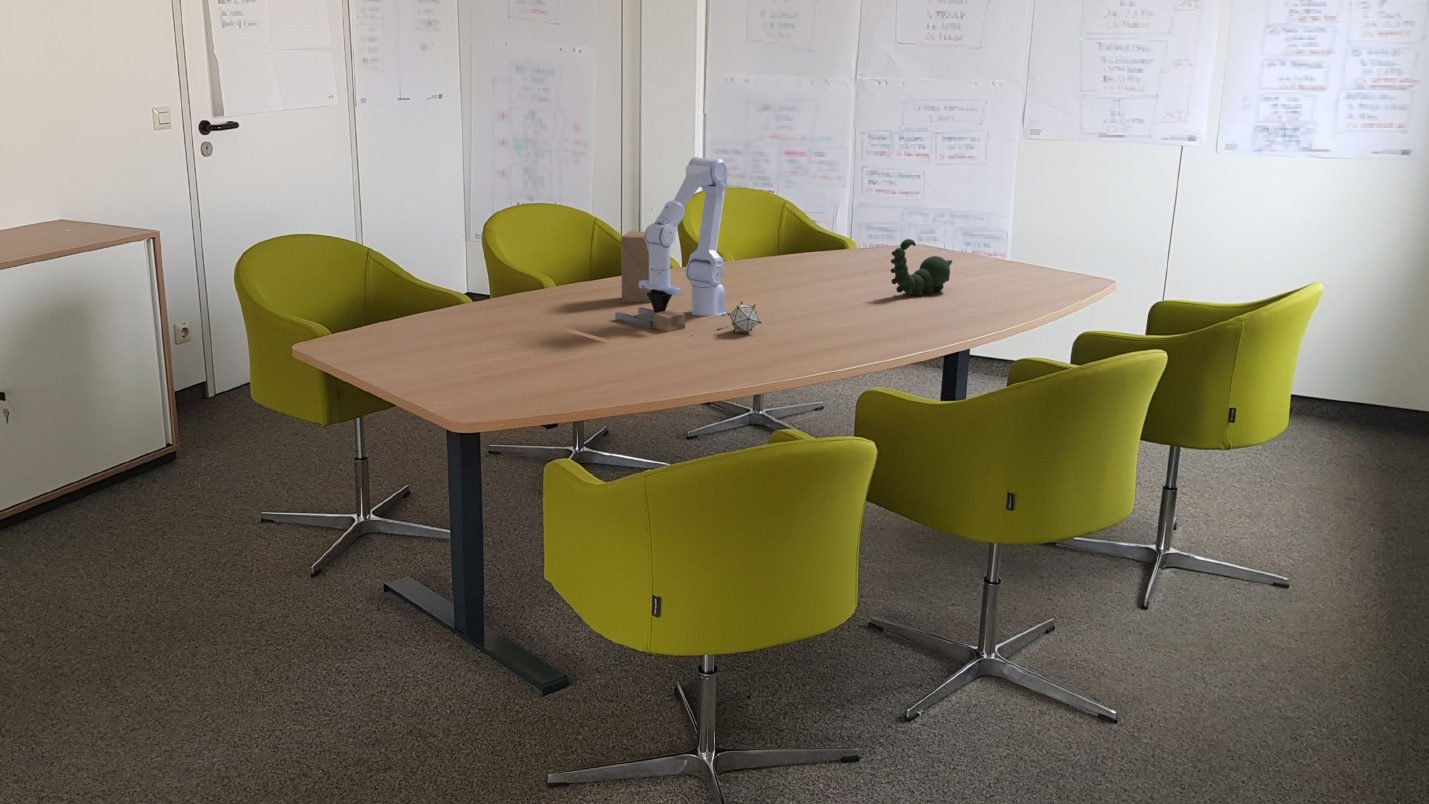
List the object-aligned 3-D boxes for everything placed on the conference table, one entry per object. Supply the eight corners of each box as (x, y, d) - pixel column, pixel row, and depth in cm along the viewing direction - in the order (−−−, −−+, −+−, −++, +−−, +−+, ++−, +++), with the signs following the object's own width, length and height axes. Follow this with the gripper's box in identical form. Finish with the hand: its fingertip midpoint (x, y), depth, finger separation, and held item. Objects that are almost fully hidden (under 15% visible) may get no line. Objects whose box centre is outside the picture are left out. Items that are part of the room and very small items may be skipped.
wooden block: (654, 305, 354) (653, 237, 348) (621, 303, 356) (620, 236, 350) (662, 298, 363) (662, 232, 357) (630, 296, 365) (629, 230, 359)
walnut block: (670, 324, 329) (670, 309, 327) (685, 328, 325) (685, 314, 323) (653, 327, 325) (653, 313, 324) (668, 332, 321) (668, 317, 319)
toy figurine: (906, 306, 363) (963, 289, 377) (906, 245, 357) (963, 229, 370) (884, 300, 371) (940, 283, 384) (883, 240, 364) (940, 225, 378)
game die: (741, 347, 324) (726, 322, 317) (733, 329, 330) (718, 304, 323) (770, 331, 323) (755, 306, 316) (761, 313, 329) (747, 288, 322)
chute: (641, 316, 340) (641, 307, 339) (701, 332, 324) (701, 322, 323) (615, 322, 333) (615, 312, 332) (675, 338, 317) (675, 328, 316)
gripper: (630, 266, 325) (630, 315, 329) (667, 274, 315) (667, 324, 320) (649, 263, 330) (649, 311, 334) (686, 270, 320) (686, 320, 324)
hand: (659, 317), depth 327 cm, fingers closed
